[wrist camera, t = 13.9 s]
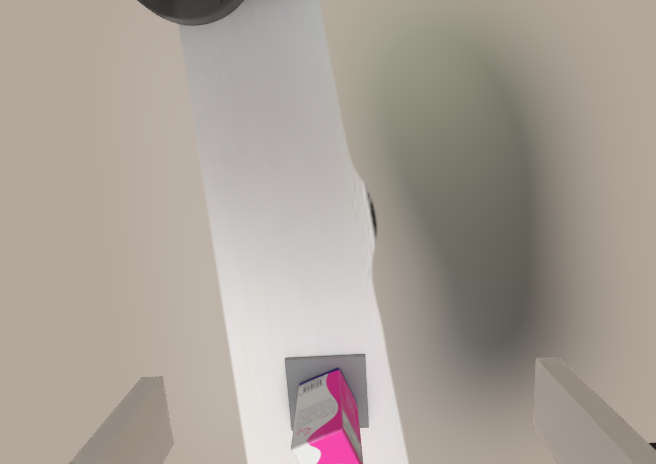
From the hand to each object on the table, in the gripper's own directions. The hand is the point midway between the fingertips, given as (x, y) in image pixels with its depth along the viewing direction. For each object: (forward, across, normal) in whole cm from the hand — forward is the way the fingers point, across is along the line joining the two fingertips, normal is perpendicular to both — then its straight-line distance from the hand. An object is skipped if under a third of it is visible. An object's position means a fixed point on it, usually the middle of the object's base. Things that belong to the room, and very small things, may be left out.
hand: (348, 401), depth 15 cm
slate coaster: (+35, -3, -22) cm, 41 cm away
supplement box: (+34, -3, -22) cm, 41 cm away
